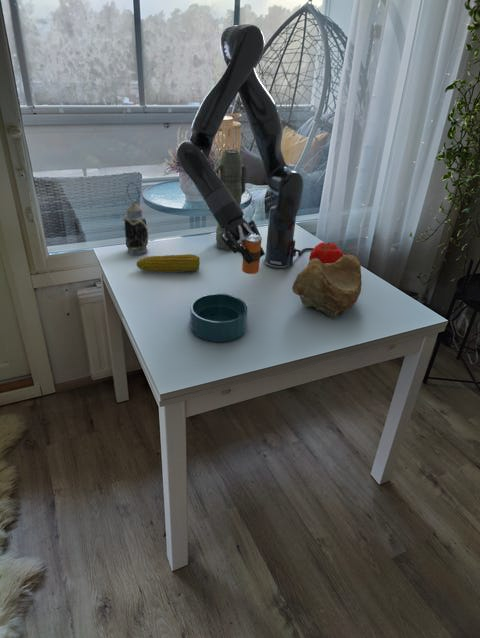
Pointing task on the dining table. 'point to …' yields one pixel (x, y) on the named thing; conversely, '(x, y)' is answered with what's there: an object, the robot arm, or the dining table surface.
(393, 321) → the dining table surface
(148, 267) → the food
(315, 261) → the rough brown rock
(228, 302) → the bowl
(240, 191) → the thermos
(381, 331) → the dining table surface
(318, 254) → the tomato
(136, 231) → the lantern
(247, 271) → the tube
